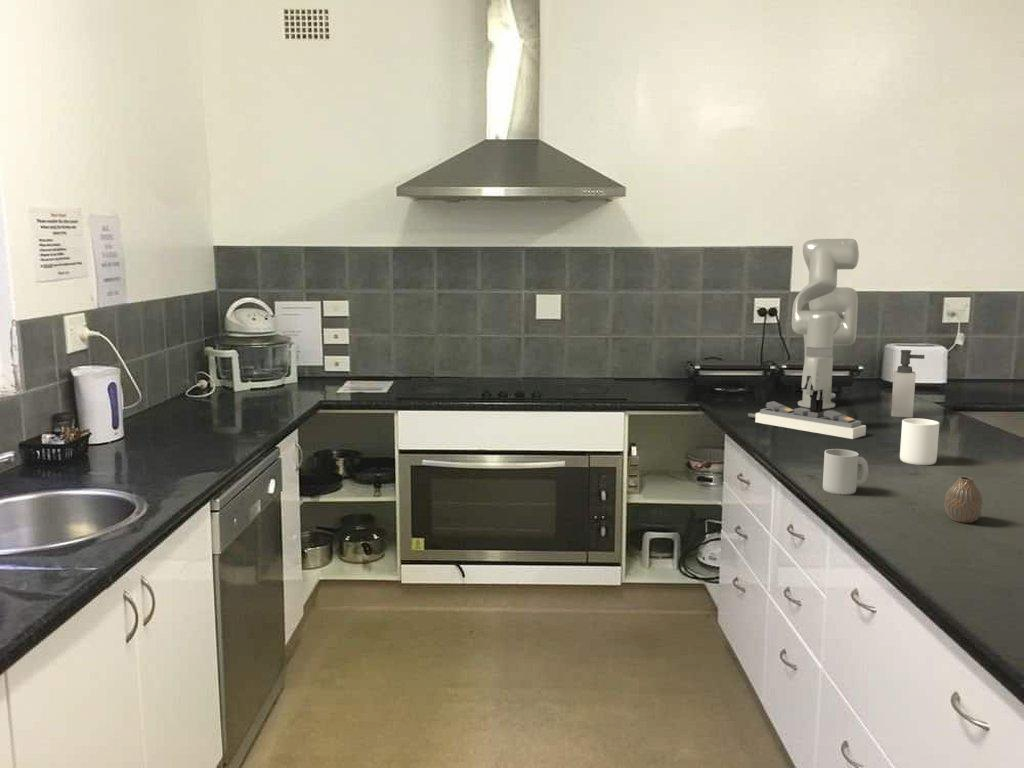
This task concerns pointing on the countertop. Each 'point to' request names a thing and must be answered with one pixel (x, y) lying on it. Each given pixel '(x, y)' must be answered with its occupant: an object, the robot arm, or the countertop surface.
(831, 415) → the rocker
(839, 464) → the cup
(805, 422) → the power strip
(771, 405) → the rocker
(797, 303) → the robot arm
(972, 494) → the vase
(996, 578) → the countertop surface
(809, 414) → the rocker
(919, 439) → the mug
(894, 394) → the soap dispenser
